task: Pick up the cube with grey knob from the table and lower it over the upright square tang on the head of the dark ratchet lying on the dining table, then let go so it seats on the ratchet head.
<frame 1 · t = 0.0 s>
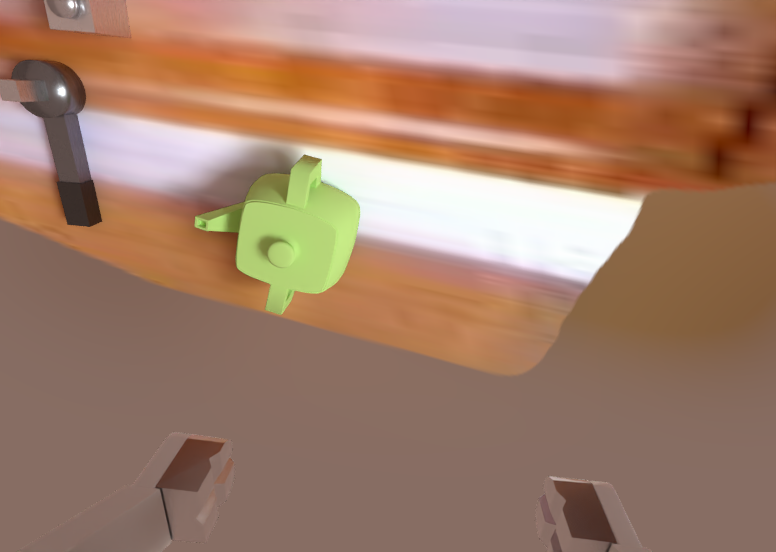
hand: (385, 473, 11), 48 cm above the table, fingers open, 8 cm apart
teapot: (294, 216, 59), on the table
cube with grey knob: (106, 12, 50), on the table
ratchet: (60, 89, 54), on the table
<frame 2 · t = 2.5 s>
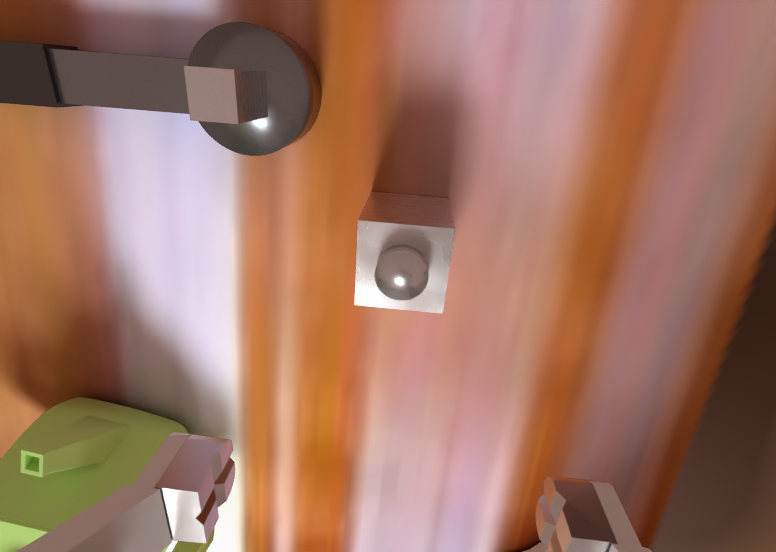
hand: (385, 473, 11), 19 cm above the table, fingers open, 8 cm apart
teapot: (137, 433, 39), on the table
cube with grey knob: (406, 231, 28), on the table
ratchet: (268, 91, 25), on the table
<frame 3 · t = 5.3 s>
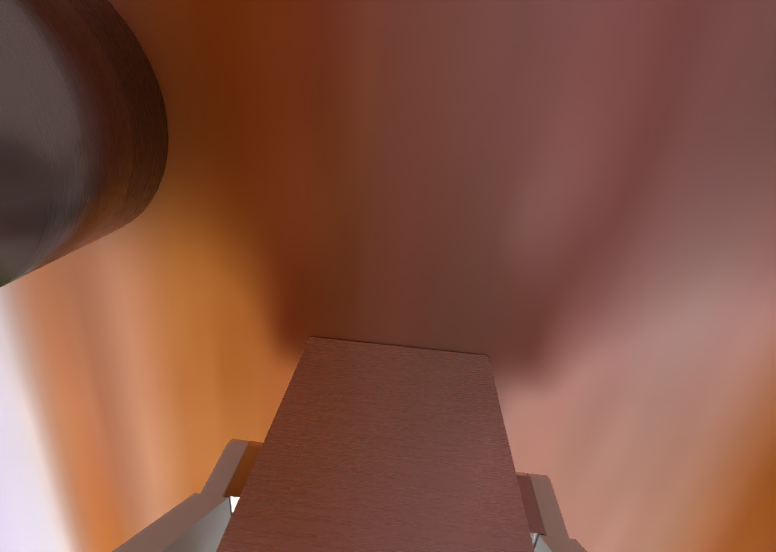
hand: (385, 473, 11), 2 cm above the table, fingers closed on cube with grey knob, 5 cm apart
cube with grey knob: (391, 414, 13), on the table, touching gripper
ratchet: (31, 106, 10), on the table
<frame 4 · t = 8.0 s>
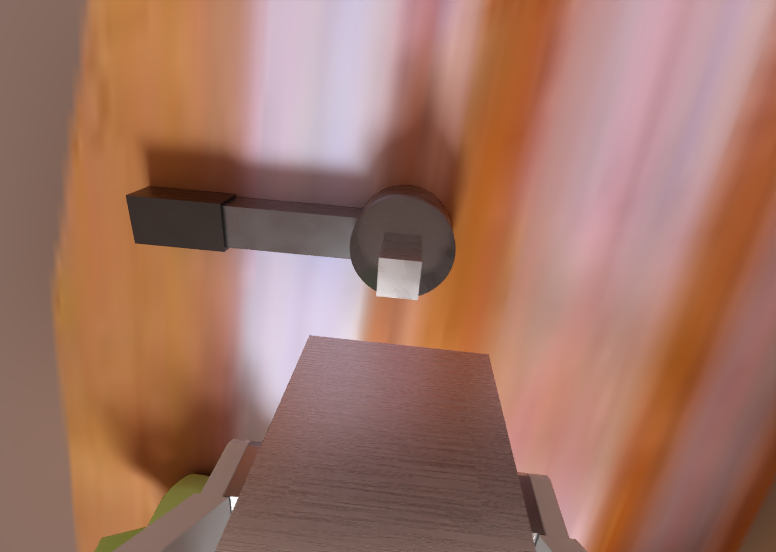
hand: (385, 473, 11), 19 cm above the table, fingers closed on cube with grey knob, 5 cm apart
teapot: (238, 502, 42), on the table
cube with grey knob: (391, 413, 13), point 17 cm above the table, touching gripper
ratchet: (404, 232, 29), on the table
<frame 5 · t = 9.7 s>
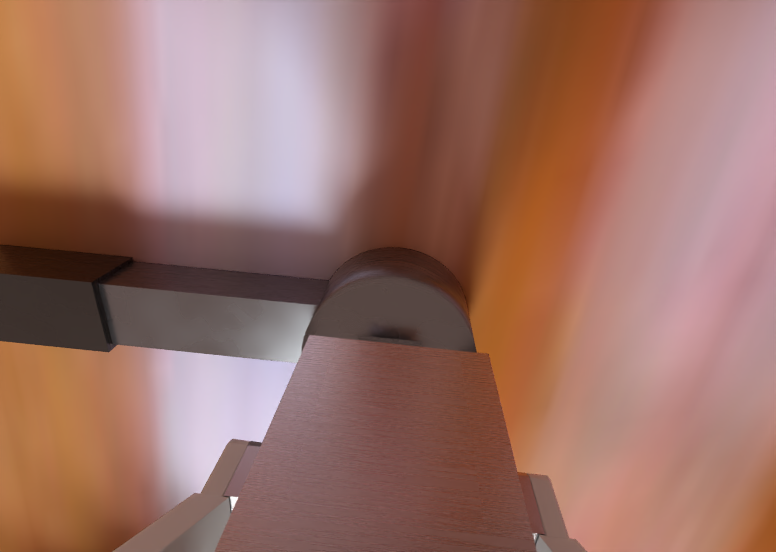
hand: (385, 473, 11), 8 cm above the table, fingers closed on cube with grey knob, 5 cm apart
cube with grey knob: (391, 413, 13), point 6 cm above the table, touching gripper
ratchet: (393, 315, 19), on the table
when the fingers open (7 cm above the table, at t = 10.9 s): cube with grey knob stays where it is, resting on ratchet.
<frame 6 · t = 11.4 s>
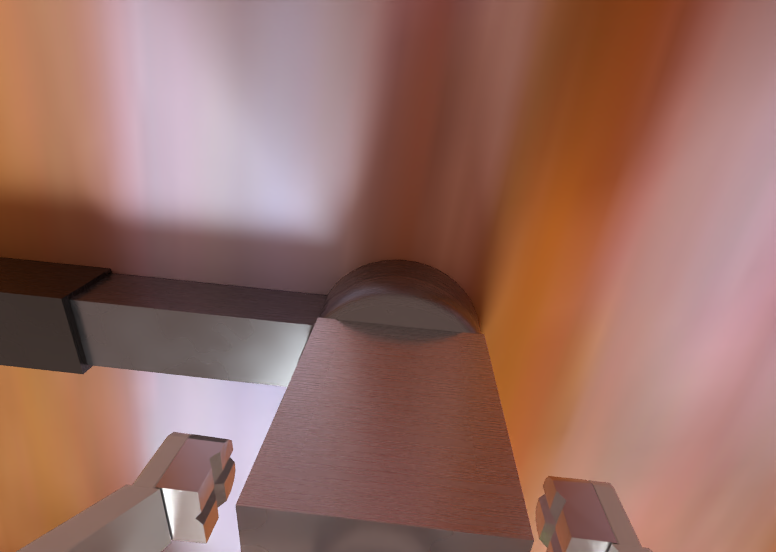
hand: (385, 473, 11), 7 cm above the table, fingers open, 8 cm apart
cube with grey knob: (393, 391, 14), point 3 cm above the table, touching ratchet
ratchet: (397, 333, 17), on the table
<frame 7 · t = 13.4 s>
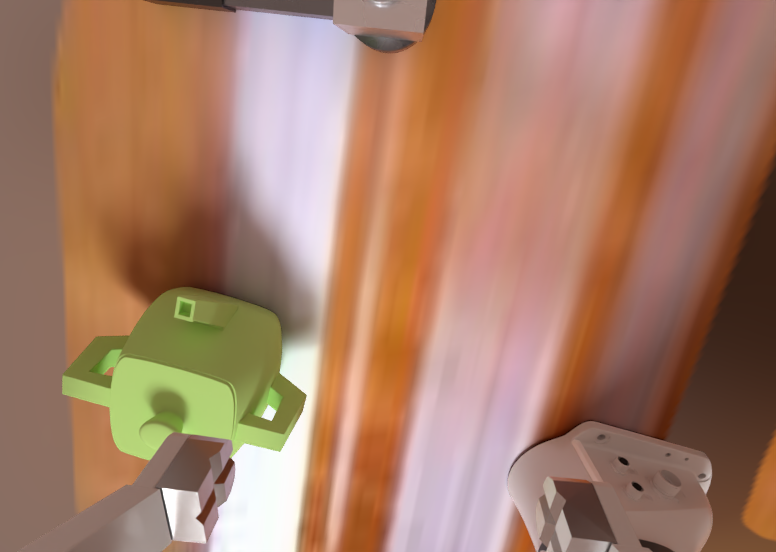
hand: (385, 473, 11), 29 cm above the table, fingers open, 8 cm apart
teapot: (228, 327, 44), on the table
ratchet: (390, 3, 31), on the table
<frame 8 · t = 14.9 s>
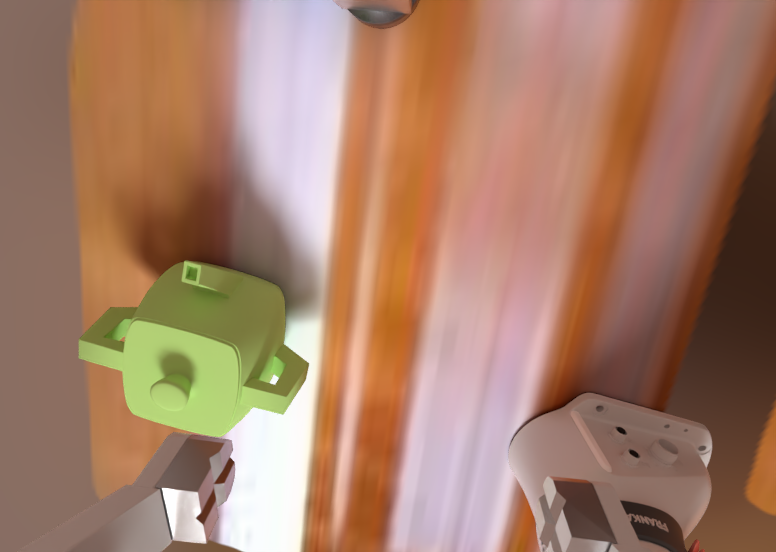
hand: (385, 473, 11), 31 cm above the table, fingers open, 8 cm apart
teapot: (235, 301, 46), on the table
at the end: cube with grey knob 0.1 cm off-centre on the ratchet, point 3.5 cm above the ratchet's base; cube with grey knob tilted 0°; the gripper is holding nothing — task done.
